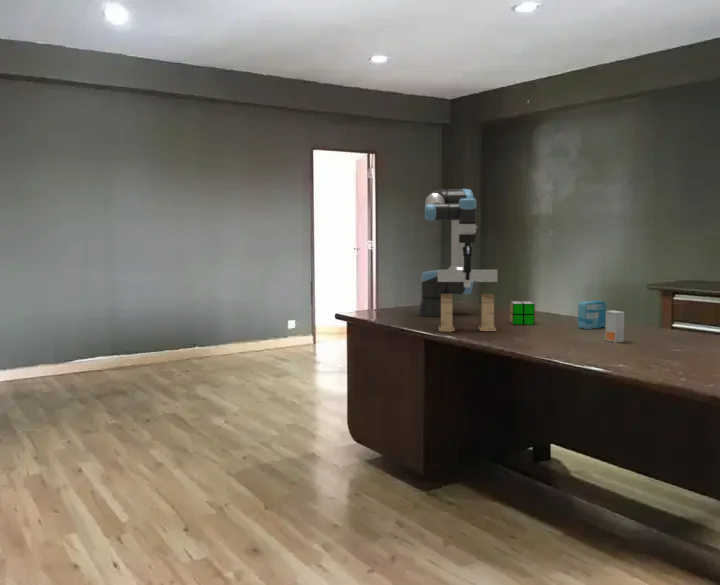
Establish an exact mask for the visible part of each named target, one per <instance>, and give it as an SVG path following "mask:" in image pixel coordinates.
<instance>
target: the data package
mask: <svg viewBox="0 0 720 585" xmlns="http://www.w3.org/2000/svg"><path fill="white" fill-rule="evenodd" d="M577 307H578V309H577V311H578V312H577V326H578V328H579V329H582V330H593V329H592V328H597V329H602V328H601V327H603V328H605V327H606V311H607V310H606V309H607V308H606V307H607V303H606V302H605V301H601V300H590V301H589V300H586V301H580V302H579V303H578V306H577Z"/></svg>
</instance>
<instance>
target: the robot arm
mask: <svg viewBox="0 0 720 585" xmlns="http://www.w3.org/2000/svg"><path fill="white" fill-rule="evenodd" d="M424 205H425V206H424V218H425V220H426V221H432V222H433V221H451V232H450V233H451V239H450V241H451V244H450V246H451V247H450V248H451V249H450V252H451V254H450V255H451V259H450V260H451V261H450V262H451V263H450V264H451V265H450V266H449V268H447V270H465V271H463V273H464V282H438V270H439V269H434V270H427V271H423V272H422V273H421V278H420V279H421V281H420V282H421V290H420V291H421V298H420V299H421V300H420V303H419V307H418V310H417V315H418V316H420V317H421V316H422V317H441V294H452V295H453V296H454V295H455V296H457V295H458V296H459V295H461V296H463V295H464V296H465V295H470V294H471V293H472V291H473V286H474V282H471V273H470V272H471V270H472V268H471V267H472V266H471V265H472V251H473V247H472V246H471V244H475V243H477V234H476V233H477V229H478V228H479V227H478V225H477V207H478V206H477V199H476V198H474V193H473V191H472V189H469V188H448V189H447V188H446V189H445V188H443V189H442V188H441V189H437V190H434V191H432V192H430V193H429V194H428V195H426V197H425V200H424Z"/></svg>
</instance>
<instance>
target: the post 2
mask: <svg viewBox="0 0 720 585" xmlns="http://www.w3.org/2000/svg"><path fill="white" fill-rule="evenodd" d="M480 304H481V308H480V311H481V312H480V313H481V315H480V316H481V317H480V325H478V330H480V331H496V332H497V328H496V327H495V294H493V293H481V301H480ZM480 331H479V332H480Z"/></svg>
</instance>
